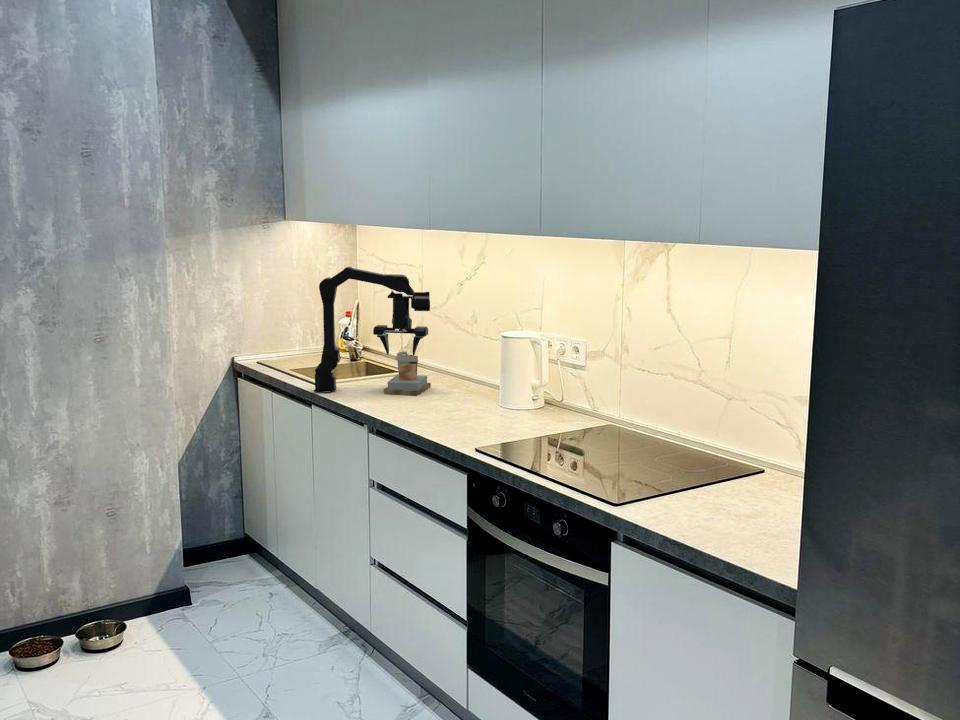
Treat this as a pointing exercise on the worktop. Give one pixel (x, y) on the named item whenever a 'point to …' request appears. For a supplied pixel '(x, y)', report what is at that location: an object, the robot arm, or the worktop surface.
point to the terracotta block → (407, 371)
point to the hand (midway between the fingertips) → (400, 354)
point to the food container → (406, 359)
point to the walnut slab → (407, 391)
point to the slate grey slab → (407, 383)
